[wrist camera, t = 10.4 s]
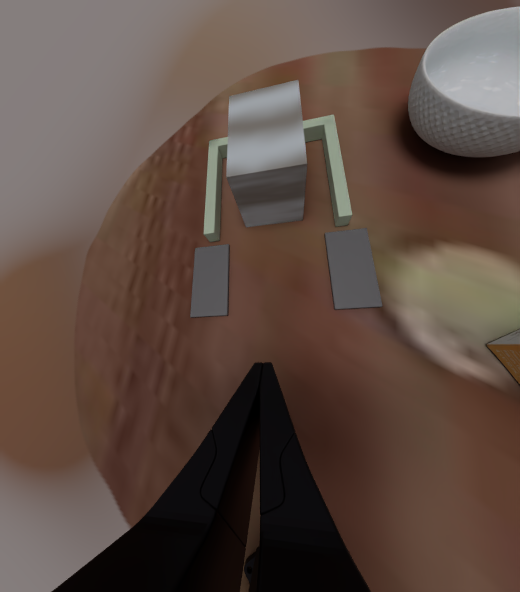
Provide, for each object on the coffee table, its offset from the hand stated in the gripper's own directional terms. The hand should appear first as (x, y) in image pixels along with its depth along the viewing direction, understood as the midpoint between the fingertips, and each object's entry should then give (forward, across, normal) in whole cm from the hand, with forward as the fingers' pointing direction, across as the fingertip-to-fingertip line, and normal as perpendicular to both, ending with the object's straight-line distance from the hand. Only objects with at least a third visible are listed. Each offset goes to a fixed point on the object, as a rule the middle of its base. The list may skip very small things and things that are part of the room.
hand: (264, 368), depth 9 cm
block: (+26, 0, -8) cm, 27 cm away
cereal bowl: (+29, -26, -11) cm, 40 cm away
